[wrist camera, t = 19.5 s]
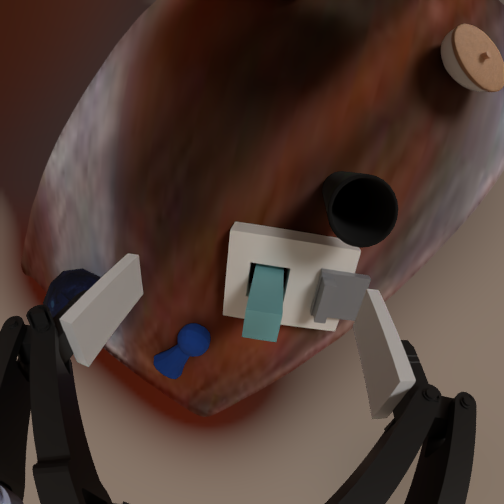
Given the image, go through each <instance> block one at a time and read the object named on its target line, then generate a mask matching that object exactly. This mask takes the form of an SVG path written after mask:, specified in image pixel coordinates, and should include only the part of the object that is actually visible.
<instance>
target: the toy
mask: <svg viewBox="0 0 504 504" xmlns="http://www.w3.org/2000/svg"><path fill="white" fill-rule="evenodd" d="M210 338H211V337H210V333H209V332H208V330H207V329H206V328H205V327H203V326H201V325H199V324H196V323H190V324H187V325H185V326H184V327H183V328H182V329H181V331H180V332H179V334H178V344H177V345H175V346H174V347H172V348H171V349H169V350H166V351H164V352H161V353H159V354H157V355H155V356H154V366H155V368H156V369H157V370H158V371H159V372H160V373H162V374H163V375H165V376H167V377H168V378H171V379H177V378H178V377H179V376H181V374H182V370H183V367H184V365H185V363H186V361H187V359H188V358H189V356H192V357H194V356H200V355H202V354H203V353H205V352H206V351H207V349H208V348H209V344H210Z"/></svg>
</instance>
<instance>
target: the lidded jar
mask: <svg viewBox="0 0 504 504" xmlns="http://www.w3.org/2000/svg"><path fill="white" fill-rule="evenodd" d="M441 58H442V61H443V64H444V67H445V69H446V71H447V72H448V73H449V75H450V76H451V77H452V78H453V79H454V80H455V81H456V82H457V83H459V84H460V85H461V86H463V87H465V88H467V89H469V90H472V91H477V92H496V91H499V90H501V89H502V88H503V86H504V62H503V59H502V57H501V55H500V53H499V51H498V49H497V47H496V46H495V44H494V43H493V42H492V40H491V39H490V38H489V37H488V36H487V35H486V34H485V33H484V32H483V31H481V30H480V29H478V28H477V27H475V26H472V25H469V24H462V25H459V26H457V27H456V28H455V29H454V30H452V31H451V32H449V33H448V34H447V35H446V36H445V38H444V39H443V41H442V44H441Z"/></svg>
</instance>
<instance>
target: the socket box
mask: <svg viewBox="0 0 504 504" xmlns="http://www.w3.org/2000/svg"><path fill="white" fill-rule="evenodd" d="M360 253H361V250H360V249H359V247H353V246H350V245H348V244H346V243H344V242H343V241H341V240H340V239H339V238H336V237H330V236H324V235H318V234H312V233H306V232H300V231H294V230H288V229H281V228H275V227H269V226H262V225H255V224H249V223H242V222H235V223H234V225H233V226H232V228H231V230H230V238H229V249H228V260H227V271H226V282H225V294H224V306H223V315H226V316H231V317H237V318H243V319H244V318H245V311H246V306H247V302H248V297H249V293H250V289H251V284H252V283H249V281H250V273H251V266H252V263H258V264H265V265H271V266H277V267H284V268H288V270H287V275H286V280H285V285H284V288H283V315H282V320H281V325H288V326H296V327H303V328H311V329H320V330H329V331H335V330H336V327H337V324H338V322H339V319H336V318H327V319H326V322H325V324H324V323H316V322H314V317H313V316H311V315H310V309H311V306H312V302H313V298H314V295H315V291H316V287H317V284H318V280H319V276H320V272H321V268H323V269H329V270H336V271H342V272H349V273H355V270H356V267H357V263H358V260H359V257H360Z"/></svg>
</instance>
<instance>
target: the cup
mask: <svg viewBox="0 0 504 504" xmlns="http://www.w3.org/2000/svg"><path fill="white" fill-rule="evenodd" d="M322 193H323V197H324V202H325V206H326V211H327V215H328V220H329V224H330V226H331V228H332V231H333V232H334V234H335V235H336V236H337V237H338V238H339V239H340V240H341V241H343V242H344V243H346V244H348V245H350V246H353V247H360V248H362V247H370V246H373V245H375V244H378V243H379V242H381V241H382V240H384V239H385V238H386V237H387V236H388V235H389V234H390V232H391V231H392V229H393V228H394V226H395V223H396V220H397V216H398V203H397V199H396V196H395V193H394V192H393V190H392V189H391V187H390V186H389V185H388V184H387V183H386V182H385V181H384V180H382V179H380V178H379V177H377V176H373V175H369V174H362V173H353V172H343V171H341V172H335V173H333V174H331V175H330V176H328V178H327V179H326V180H325V182H324V184H323V189H322Z"/></svg>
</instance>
